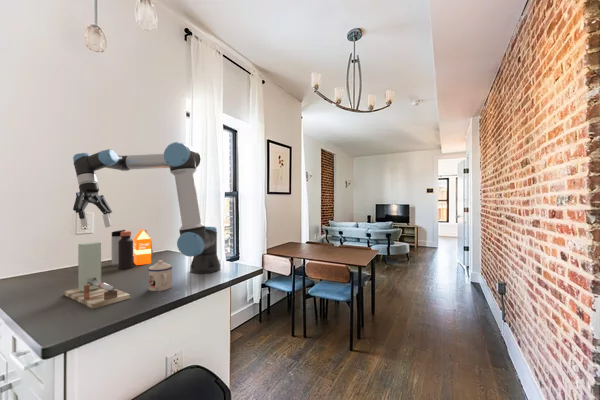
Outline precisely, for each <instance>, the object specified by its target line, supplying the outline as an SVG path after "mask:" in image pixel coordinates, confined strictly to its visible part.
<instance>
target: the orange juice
mask: <svg viewBox="0 0 600 400" xmlns="http://www.w3.org/2000/svg"><path fill="white" fill-rule="evenodd" d="M149 236H150V235H149V234H148V235H147V234H146V232H145V230H144V229H143V228H140V230H139V231H138V232H137V233H136V235H134V238H133V264H135V265H136V266H139V265H140V266H141V265H142V266H143V265H148V264H152V256H151V241H152V239H151V236H150V237H149Z"/></svg>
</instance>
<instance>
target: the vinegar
mask: <svg viewBox="0 0 600 400" xmlns="http://www.w3.org/2000/svg"><path fill="white" fill-rule="evenodd" d="M131 237H132V231H131V230H125V231H123V232H121V239H120V240H119V242H118V248H119V266H118V270H120V271H121V270H122V271H123V270H124V271H126V270H130V269H133V268H134V239H132V238H131Z"/></svg>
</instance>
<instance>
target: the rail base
mask: <svg viewBox="0 0 600 400" xmlns="http://www.w3.org/2000/svg"><path fill="white" fill-rule="evenodd" d="M63 292H64V293H63V295H64V296H66V297H68V298H70V299H72V300H74V301H77V302H78V303H80V302H81V303H80V304H82V303H83V304H82V305H84V304H85V306H86V305H87V307H88V308H91V309H98V308H101V307H104V306H109V305H113V304H115V303H118V302H123V301H126V300H129V299H131V294H130V293H127V292H126V291H122V290H119V289H116V288H114V290H113V291H112V292H109V291H107V290H104V289H100V288H96V289H92V290H89V285H84V291H83V292H82V291H80V290H78V287H76V288H72V289H67V290H64V291H63Z"/></svg>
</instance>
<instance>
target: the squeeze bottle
mask: <svg viewBox="0 0 600 400" xmlns="http://www.w3.org/2000/svg"><path fill="white" fill-rule="evenodd" d="M144 231H145V232H146V234H147V235H148V236H149V237H150V238H151V236H150V235H149V234H148V229H147V230H146V229H145V230H144ZM152 242H153V241H152V240H151V257H153V253H154V251H153V243H152Z"/></svg>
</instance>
